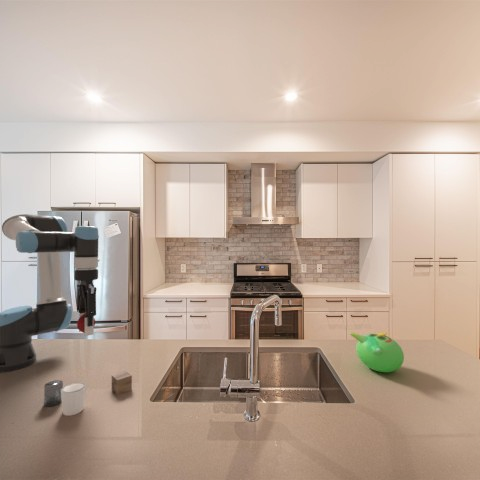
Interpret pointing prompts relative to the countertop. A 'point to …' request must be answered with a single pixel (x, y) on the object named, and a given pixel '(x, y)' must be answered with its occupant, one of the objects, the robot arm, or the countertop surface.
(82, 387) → the white short cylinder
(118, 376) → the walnut block
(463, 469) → the countertop surface
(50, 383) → the metal tin
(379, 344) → the toy bird
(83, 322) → the onion
